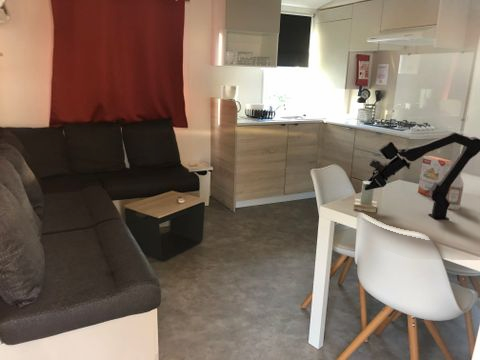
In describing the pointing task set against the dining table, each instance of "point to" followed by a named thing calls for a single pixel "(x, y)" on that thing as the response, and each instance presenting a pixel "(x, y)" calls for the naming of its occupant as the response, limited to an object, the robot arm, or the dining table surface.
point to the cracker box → (432, 172)
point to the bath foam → (455, 193)
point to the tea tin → (366, 194)
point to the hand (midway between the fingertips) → (365, 187)
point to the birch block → (365, 206)
